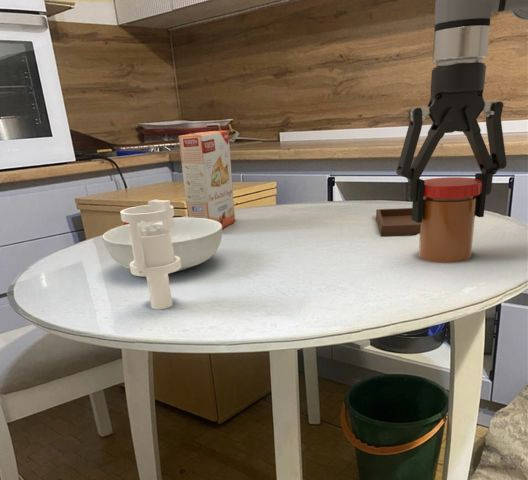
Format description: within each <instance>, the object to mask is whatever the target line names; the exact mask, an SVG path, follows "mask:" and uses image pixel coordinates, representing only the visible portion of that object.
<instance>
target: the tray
mask: <svg viewBox="0 0 528 480" xmlns="http://www.w3.org/2000/svg"><path fill="white" fill-rule="evenodd" d="M375 210H376V211H375V219H376V223H377V224H376V225H377V228H378V231H379V235H380V237H401V236H402V237H404V236H417V235H420V223H417V222H415V221H413V220H412V207H402V208H401V207H399V208H380V209H379V208H378V209H375Z"/></svg>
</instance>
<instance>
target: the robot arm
mask: <svg viewBox="0 0 528 480" xmlns="http://www.w3.org/2000/svg"><path fill="white" fill-rule="evenodd" d="M434 5H435V6H434V31H433V45H432V46H433V47H432V62H433V63H434V64H435V65H436V66H435V67H433V69H432V70H431V77H430V99H429V102H428V104H427V106H422V107H421V106H420V107H411V108H410V109H409V110H408V126H407V131H406V134H405V138H404V142H403V146H402V149H401V153H400V156H399V160H398V164H397V168H396V174H397V175H398V176H400V177H403V178H406V179H407V195H406V196H407V200H408V201H410V202H412V207H411V208H412V220H413V221H415V222H417V223H421V222H422V216H423V199H424V181H425V180H426V179H422V178H421V176H422V174H423V173H424V170H425V169H426V168H427V166H428V163H429V161H430V159H431V158H432V155H433V154H434V152H435V150H436V148H437V147H438V145H439V143H440V142H441V139H442V138H444V136H445V134H452V133H454V132H459V133H463V135H464V136H465V137H466V139H467V142H468V144H469V146H470V148H471V151H472V153H473V156H474V158H475V161H476V163H477V165H478V167H479V170H480V172H477V173H475V174H474V178H476V179H480V180H482V192H481V193H480V194H479V195H476V197H477V201H476V211H475V217H477V218H484V217H485V207H486V199H487V198H486V196H487V195H490V194H491V192H492V187H493V177H494V175H496V174H497V173H498V170H503V169H505V168H506V167H507V157H506V148H505V141H504V132H503V125H502V113H503V110H504V109H503V108H504V103H503V102H502V101H498V100H497V101H488V102H487V101H485V99H484V96H483V95H484V90H485V83H486V73H487V65H486V63H485V62H483V60H484V59H486V58H487V57H488V49H489V39H490V30H491V29H490V27H491V16H492V13H496V12H497V13H499V12H506V11H510V12H511V14H513V15H514V16H515V17H516V18H518V19H520V20H525V21H526V20H527V21H528V0H435V3H434ZM482 112H483V116H484V117H485V127H486V134H487V139H488V140H487V141H488V147H489V151H488V148H487V145H486V143H485V140H484V138H483V135H482V133H481V131H482V130H481V126H480V124H479V122H478V118H479V116H481V113H482ZM427 116H428V117H429V118H430V120H431V121H432V124H431V126H430V128H429V130H428V131H427V135H426V137H425V139H424V141H423V143H422V145H421V146H420V149H419V151H418V152H417V155H416V156H415V153H416V150H417V146H418V142H419V138H420V136H421V133H422V132H421V131H422V128H423V123H424V122H425V121H426V118H427ZM414 156H415V157H414Z"/></svg>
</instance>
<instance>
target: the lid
mask: <svg viewBox="0 0 528 480" xmlns="http://www.w3.org/2000/svg"><path fill="white" fill-rule="evenodd" d="M424 180H425V181H424V197H429V198H463V197H471V196H476V195H479V194H480V193H481V192H482V180H480V179H476V178H475V177H462V176H461V177H460V176H456V177H455V176H453V177H451V176H450V177H449V176H447V177H436V178H428V179H424Z"/></svg>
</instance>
